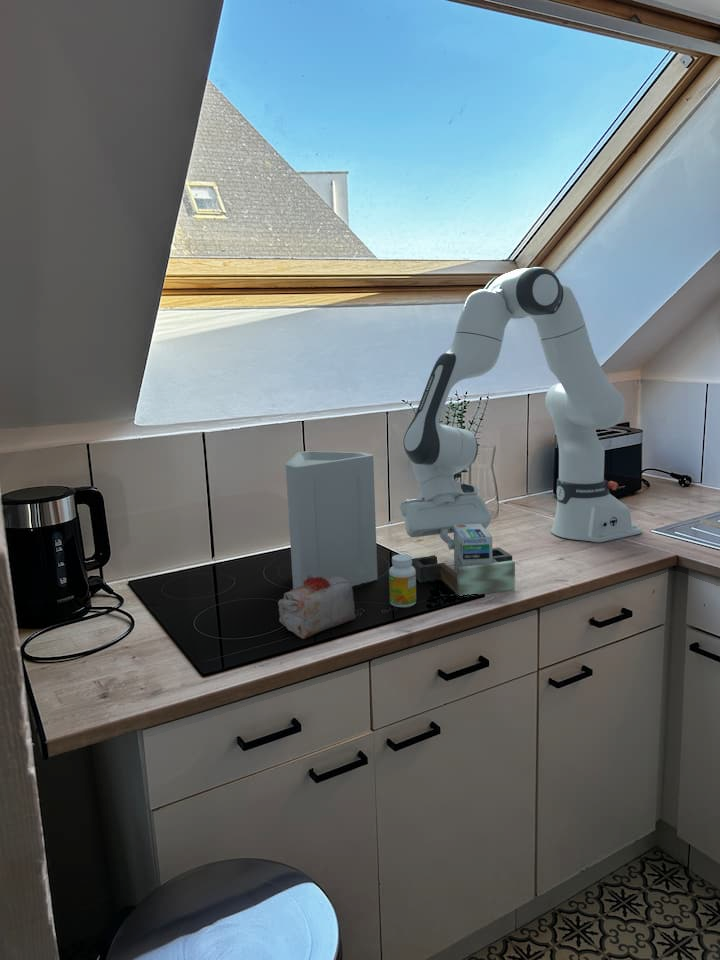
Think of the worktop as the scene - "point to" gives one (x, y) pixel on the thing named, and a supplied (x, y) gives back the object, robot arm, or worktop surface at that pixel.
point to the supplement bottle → (402, 581)
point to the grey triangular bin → (332, 516)
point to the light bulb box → (471, 545)
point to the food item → (317, 605)
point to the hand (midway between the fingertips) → (456, 547)
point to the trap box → (470, 574)
